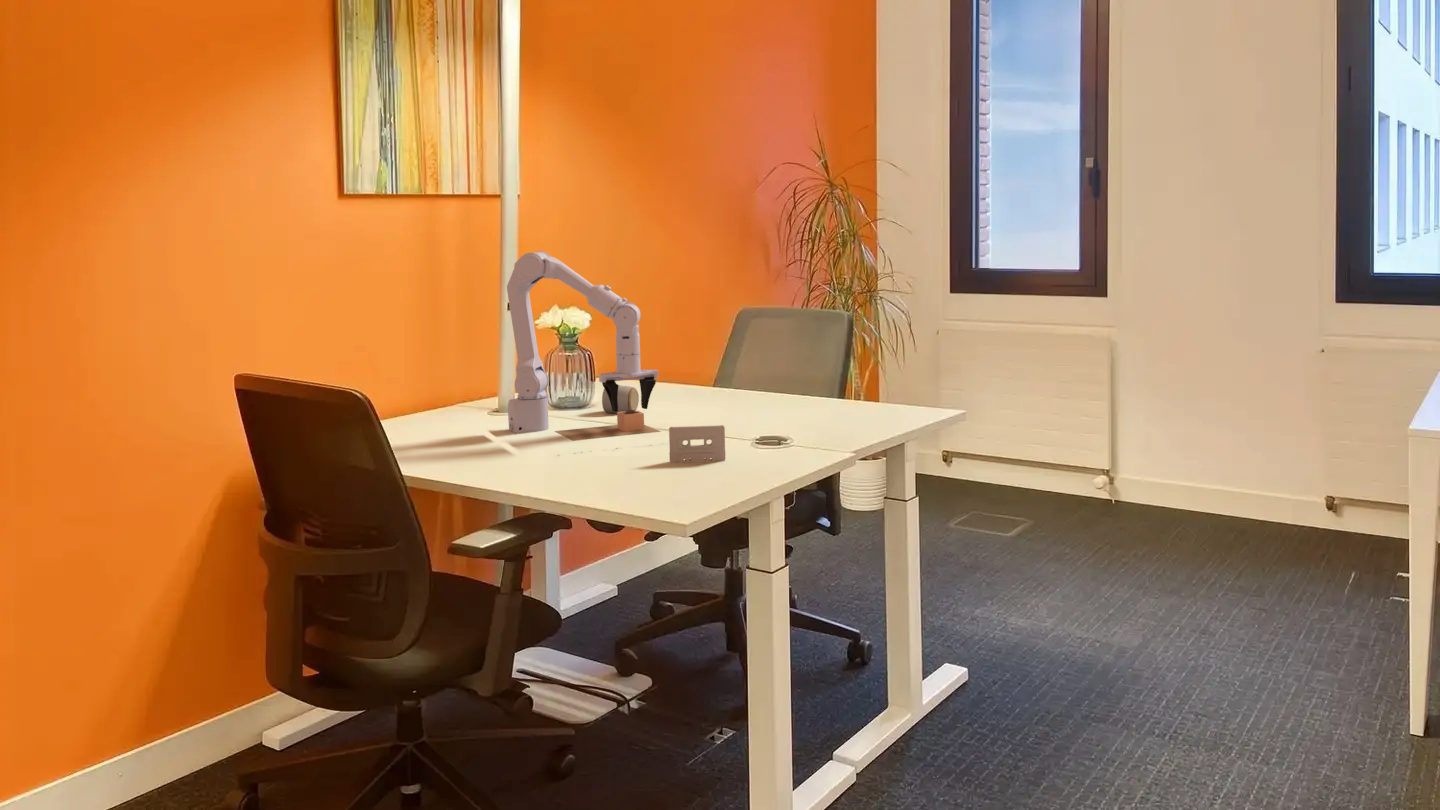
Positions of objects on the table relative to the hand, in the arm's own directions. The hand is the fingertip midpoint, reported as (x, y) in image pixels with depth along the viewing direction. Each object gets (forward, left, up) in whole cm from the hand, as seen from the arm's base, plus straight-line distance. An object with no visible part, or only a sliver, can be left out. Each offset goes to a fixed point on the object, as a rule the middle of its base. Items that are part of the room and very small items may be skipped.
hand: (629, 409), depth 298 cm
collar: (0, 0, -5) cm, 5 cm away
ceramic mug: (+9, +30, -6) cm, 32 cm away
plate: (-6, 0, -6) cm, 8 cm away
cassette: (+1, -39, -6) cm, 39 cm away
